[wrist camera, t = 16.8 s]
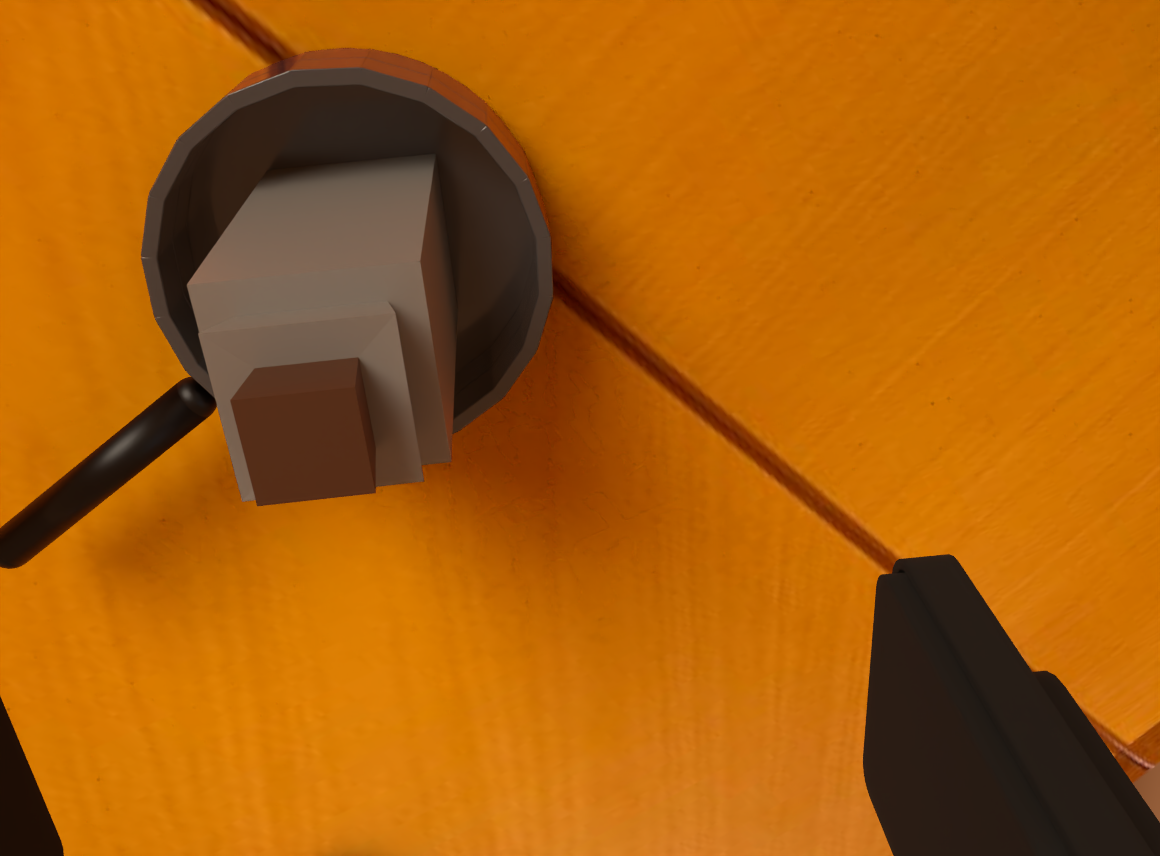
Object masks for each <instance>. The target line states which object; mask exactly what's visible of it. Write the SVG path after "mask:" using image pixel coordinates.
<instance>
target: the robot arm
mask: <svg viewBox="0 0 1160 856" xmlns="http://www.w3.org/2000/svg"><path fill="white" fill-rule="evenodd" d="M863 769H864V777H865V782H866V786H867V790H868V793H869V796H870V799H871V801H872V803H873V806H874V808H875V811H876V813H877V816H878V818H879V821H880V823H881V826H882V828H883V831H884V833H885V836H886V838H887V841H888V843H889V846H890V848H891V850H892V853H893V855H894V856H1160V823H1159V821H1158V819H1157V818H1156V817H1155V815H1154V814H1153V812H1152V811H1151V809H1150V808H1149V806H1148V805H1147V804H1146V802H1145V801H1144V800H1143V798H1142V796H1141V795H1140V794H1139V792H1138V791H1137V789H1136V788H1135V786H1134V785H1133V783H1132V782H1131V781H1130V779H1129V778H1128V776H1127V775H1126V773H1125V772H1124V771H1123V769H1122V768H1121V766H1120V765H1119V763H1118V762H1117V760H1116V759H1115V758H1114V756H1113V755H1112V753H1111V752H1110V750H1109V749H1108V748H1107V746H1106V745H1105V743H1104V742H1103V740H1102V739H1101V737H1100V736H1099V735H1098V733H1097V732H1096V730H1095V729H1094V727H1093V726H1092V725H1091V723H1090V722H1089V720H1088V719H1087V717H1086V716H1085V714H1084V713H1083V712H1082V710H1081V709H1080V707H1079V706H1078V704H1077V703H1076V702H1075V700H1074V699H1073V697H1072V696H1071V694H1070V693H1069V692H1068V690H1067V689H1066V687H1065V686H1064V685H1063V684H1062V683H1061V681H1060V680H1059V679H1058V678H1057V677H1056V676H1055V675H1053V674H1051V673H1049V672H1048V671H1038V672H1032V671H1031V669H1030V668H1029V666H1028V665H1027V663H1026V662H1025V660H1024V659H1023V657H1022V656H1021V654H1020V653H1019V651H1018V650H1017V648H1016V647H1015V645H1014V644H1013V642H1012V641H1011V639H1010V638H1009V636H1008V635H1007V633H1006V632H1005V630H1004V629H1003V627H1002V626H1001V624H1000V623H999V621H998V620H997V619H996V617H995V616H994V614H993V613H992V611H991V610H990V608H989V607H988V605H987V604H986V602H985V601H984V599H983V598H982V596H981V595H980V593H979V592H978V590H977V589H976V587H975V586H974V584H973V583H972V581H971V580H970V578H969V577H968V575H967V574H966V572H965V571H964V569H963V568H962V566H961V565H960V563H959V562H958V560H957V559H956V558H955V557H954V556H952V555H949V554H947V555H937V556H927V557H916V558H906V559H899V560H897V561H896V562H895V564H894V567H893V572H892V574H883V575H880V576H879V578H878V580H877V586H876V597H875V610H874V623H873V636H872V649H871V662H870V675H869V688H868V701H867V714H866V727H865V739H864V752H863ZM0 856H64V853H63V846H62V843H61V840H60V837H59V835H58V833H57V830H56V828H55V825H54V823H53V821H52V818H51V816H50V814H49V811H48V809H47V806H46V804H45V802H44V799H43V797H42V794H41V792H40V790H39V787H38V785H37V783H36V780H35V778H34V775H33V773H32V771H31V768H30V766H29V764H28V761H27V759H26V756H25V754H24V752H23V749H22V747H21V744H20V742H19V740H18V737H17V735H16V733H15V730H14V728H13V725H12V723H11V721H10V718H9V716H8V714H7V711H6V709H5V706H4V704H3V702H2V699H1V697H0Z"/></svg>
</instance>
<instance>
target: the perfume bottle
mask: <svg viewBox="0 0 1160 856" xmlns="http://www.w3.org/2000/svg"><path fill="white" fill-rule="evenodd" d="M187 288H188V292H189V296H190V299H191V303H192V307H193V311H194V315H195V318H196V322H197V326H198V330H199V333H198V336H199V339H200V343H201V347H202V351H203V354H204V358H205V362H206V366H207V370H208V373H209V377H210V381H211V385H212V389H213V392H214V396H215V400H216V404H217V407H218V411H219V415H220V419H221V423H222V426H223V430H224V434H225V438H226V441H227V445H228V449H229V453H230V457H231V460H232V464H233V468H234V472H235V476H236V479H237V483H238V487H239V491H240V494H241V498H242V502H243V501H252V500H256V503H257V506H263V505H272V504H281V503H290V502H299V501H308V500H317V499H326V498H335V497H344V496H353V495H362V494H371V493H376V487H377V486H386V485H395V484H404V483H413V482H422V481H424V478H423V472H422V466H421V465H427V464H436V463H445V462H451V455H452V432H453V409H454V386H455V363H456V339H457V316H458V308H457V301H456V294H455V287H454V280H453V273H452V266H451V258H450V251H449V244H448V237H447V230H446V223H445V216H444V209H443V202H442V195H441V187H440V180H439V173H438V166H437V159H436V154H426V155H416V156H406V157H396V158H386V159H376V160H366V161H356V162H346V163H336V164H326V165H316V166H306V167H295V168H285V169H275V170H267V172H266V173H265V174H264V176H263V177H262V179H261V180H260V181H259V183H258V184H257V186H256V187H255V189H254V190H253V191H252V193H251V194H250V196H249V197H248V198H247V200H246V201H245V203H244V204H243V206H242V207H241V208H240V210H239V211H238V213H237V214H236V216H235V217H234V218H233V220H232V221H231V223H230V224H229V225H228V227H227V228H226V230H225V231H224V233H223V234H222V235H221V237H220V238H219V240H218V241H217V243H216V244H215V245H214V247H213V248H212V250H211V251H210V252H209V254H208V255H207V257H206V258H205V260H204V261H203V262H202V264H201V265H200V267H199V268H198V270H197V271H196V272H195V274H194V275H193V277H192V278H191V279H190V281H189V282H188V284H187Z"/></svg>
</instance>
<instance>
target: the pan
mask: <svg viewBox="0 0 1160 856" xmlns="http://www.w3.org/2000/svg"><path fill="white" fill-rule="evenodd" d="M426 154H436V159H437V166H438V173H439V180H440V187H441V195H442V202H443V209H444V216H445V223H446V230H447V237H448V244H449V251H450V258H451V266H452V273H453V280H454V287H455V294H456V301H457V308H458V316H457V339H456V363H455V386H454V409H453V432H452V434H453V433H456V432H458V431H460V430H461V429H462V428H464V427H465V426H466V425H468V424H469V423H470V422H472V421H473V420H474V419H476V418H477V417H479V416H480V415H481V414H483V413H484V412H485V411H487V410H488V409H489V408H491V407H492V406H493V405H495V404H496V403H497V402H499V401H500V400H501V399H503V397H504V396H506V394H507V393H508V391H509V390H510V388H511V387H512V386H513V384H514V383H515V381H516V380H517V379H518V377H519V376H520V374H521V373H522V372H523V370H524V369H525V367H526V366H527V364H528V363H529V362H530V360H531V359H532V357H533V356H534V355H535V353H536V351H537V349H538V346H539V343H540V339H541V336H542V333H543V329H544V326H545V323H546V319H547V316H548V313H549V309H550V306H551V303H552V299H553V273H552V247H551V235H550V230H549V225H548V220H547V215H546V210H545V206H544V202H543V199H542V197H541V194H540V191H539V189H538V186H537V183H536V181H535V178H534V175H533V172H532V170H531V167H530V165H529V162H528V160H527V157H526V154H525V152H524V151H523V148H522V147H521V146H520V144H519V143H518V142H517V141H516V139H515V138H514V136H513V135H512V133H511V132H510V131H509V129H508V128H507V126H506V125H505V123H504V122H503V121H502V120H501V119H500V118H499V117H498V116H497V115H496V113H495V112H494V111H493V110H492V109H491V108H490V107H489V106H488V104H487V103H485V101H484V100H482V99H481V98H479V97H478V96H477V95H476V94H474V93H473V92H472V91H471V90H470V89H469V88H467V87H466V86H464V85H463V84H461V83H459V82H458V81H456V80H455V79H453V78H452V77H450V76H449V75H447V74H445V73H443V72H441V71H439V70H437V69H436V68H434V67H432V66H429V65H427V64H425V63H423V62H420V61H417V60H414V59H411V58H408V57H405V56H401V55H398V54H394V53H388V52H383V51H378V50H374V49H356V48H339V49H327V50H318V51H309V52H305V53H302V54H299V55H296V56H293V57H290V58H288V59H285V60H282V61H280V62H277V63H274V64H272V65H270V66H268V67H266V68H264V69H261V70H259V71H256V72H254V73H252V74H250V75H248V76H247V77H246V78H245V79H244V80H243V81H242V82H240V83H239V84H238V85H237V86H236V87H235V88H234V89H232V90H231V91H230V92H229V93H228V94H227V95H226V96H225V97H223V98H222V99H221V100H220V101H219V102H218V103H217V104H216V105H214V106H213V107H212V108H211V109H210V110H209V111H208V112H207V113H205V114H204V115H203V116H202V117H201V118H200V119H199V120H198V121H196V122H195V123H194V124H193V125H192V126H191V127H190V128H189V129H187V130H186V131H185V132H184V133H183V134H182V135H181V136H180V137H179V138H178V139H177V140H176V142H175V144H174V146H173V148H172V150H171V152H170V154H169V156H168V158H167V160H166V162H165V163H164V165H163V167H162V169H161V171H160V173H159V175H158V177H157V179H156V181H155V183H154V185H153V187H152V188H151V190H150V192H149V196H148V201H147V210H146V218H145V226H144V234H143V243H142V251H141V256H142V257H141V260H142V264H143V269H144V273H145V278H146V282H147V287H148V291H149V296H150V300H151V305H152V309H153V314H154V317H155V320H156V322H157V323H158V325H159V327H160V328H161V330H162V332H163V333H164V335H165V337H166V338H167V340H168V342H169V344H170V345H171V347H172V349H173V350H174V352H175V354H176V355H177V357H178V359H179V361H180V362H181V364H182V366H183V367H184V369H185V371H187V373H188V374H189V375H190V376H191V377H192V378H194V379H195V380H196V381H197V382H198V383H199V384H200V385H201V386H202V387H203V388H204V389H205V390H206V391H208V392H209V393H210V394H211V395H212V396H213V397H214V398H215V396H214V392H213V389H212V385H211V381H210V377H209V373H208V370H207V366H206V362H205V358H204V354H203V351H202V347H201V343H200V339H199V336H198V333H199V330H198V326H197V322H196V318H195V315H194V311H193V307H192V303H191V299H190V296H189V292H188V288H187V284H188V282H189V281H190V279H191V278H192V277H193V275H194V274H195V272H196V271H197V270H198V268H199V267H200V265H201V264H202V262H203V261H204V260H205V258H206V257H207V255H208V254H209V252H210V251H211V250H212V248H213V247H214V245H215V244H216V243H217V241H218V240H219V238H220V237H221V235H222V234H223V233H224V231H225V230H226V228H227V227H228V225H229V224H230V223H231V221H232V220H233V218H234V217H235V216H236V214H237V213H238V211H239V210H240V208H241V207H242V206H243V204H244V203H245V201H246V200H247V198H248V197H249V196H250V194H251V193H252V191H253V190H254V189H255V187H256V186H257V184H258V183H259V181H260V180H261V179H262V177H263V176H264V174H265V173H266V172H267V170H275V169H285V168H295V167H306V166H316V165H326V164H336V163H346V162H356V161H366V160H376V159H386V158H396V157H406V156H416V155H426Z"/></svg>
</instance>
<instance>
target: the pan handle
mask: <svg viewBox="0 0 1160 856" xmlns="http://www.w3.org/2000/svg"><path fill="white" fill-rule="evenodd" d="M216 407H217V404H216V400H215V398H214V397H213V396H212V395H211V394H210V393H209V392H208V391H206V390H205V389H204V388H203V387H202V386H201V385H200V384H199V383H198V382H197V381H196V380H195V379H194V378H192V377H187V378H185V379H182V380H181V381H179V382H178V383H177V384H176V385H174V386H173V387H172V388H171V389H170V390H168V391H167V392H166V393H165V394H163V395H162V396H161V397H160V398H159V399H157V400H156V401H155V402H154V403H152V404H151V405H150V406H149V407H148V408H146V409H145V410H144V411H143V412H141V413H140V414H139V415H138V416H137V417H135V418H134V419H133V420H132V421H130V422H129V423H128V424H127V425H126V426H124V427H123V428H122V429H121V430H119V431H118V432H117V433H116V434H115V435H113V436H112V437H111V438H110V439H108V440H107V441H106V442H105V443H104V444H102V445H101V446H100V447H99V448H97V449H96V450H95V451H94V452H93V453H91V454H90V455H89V456H88V457H86V458H85V459H84V460H83V461H82V462H80V463H79V464H78V465H77V466H76V467H74V468H73V469H72V470H71V471H69V472H68V473H67V474H66V475H65V476H63V477H62V478H61V479H60V480H58V481H57V482H56V483H55V484H54V485H52V486H51V487H50V488H49V489H47V490H46V491H45V492H44V493H43V494H41V495H40V496H39V497H38V498H36V499H35V500H34V501H33V502H32V503H30V504H29V505H28V506H27V507H25V508H24V509H23V510H22V511H21V512H19V513H18V514H17V515H16V516H14V517H13V518H12V519H11V520H10V521H8V522H7V523H6V524H5V525H3V526H2V527H1V528H0V567H2V568H7V569H12V568H17V567H20V566H22V565H24V564H25V563H27V562H28V561H29V560H31V559H32V558H33V557H34V556H35V555H37V554H38V553H39V552H40V551H42V550H43V549H44V548H45V547H47V546H48V545H49V544H50V543H52V542H53V541H54V540H55V539H57V538H58V537H59V536H60V535H62V534H63V533H64V532H65V531H67V530H68V529H69V528H70V527H72V526H73V525H74V524H75V523H77V522H78V521H79V520H80V519H82V518H83V517H84V516H85V515H87V514H88V513H89V512H90V511H92V510H93V509H94V508H95V507H97V506H98V505H99V504H100V503H102V502H103V501H104V500H105V499H107V498H108V497H109V496H110V495H112V494H113V493H114V492H115V491H117V490H118V489H119V488H120V487H122V486H123V485H124V484H125V483H127V482H128V481H129V480H130V479H132V478H133V477H134V476H135V475H137V474H138V473H139V472H140V471H142V470H143V469H144V468H145V467H146V466H148V465H149V464H150V463H151V462H153V461H154V460H155V459H156V458H158V457H159V456H160V455H161V454H163V453H164V452H165V451H166V450H168V449H169V448H170V447H171V446H173V445H174V444H175V443H176V442H178V441H179V440H180V439H181V438H183V437H184V436H185V435H186V434H188V433H189V432H190V431H191V430H193V429H194V428H195V427H196V426H198V425H199V424H200V423H201V422H203V421H204V420H205V419H206V418H208V417H209V416H210V415H211V414H212V413H213V412H214V410H215V409H216Z"/></svg>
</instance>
